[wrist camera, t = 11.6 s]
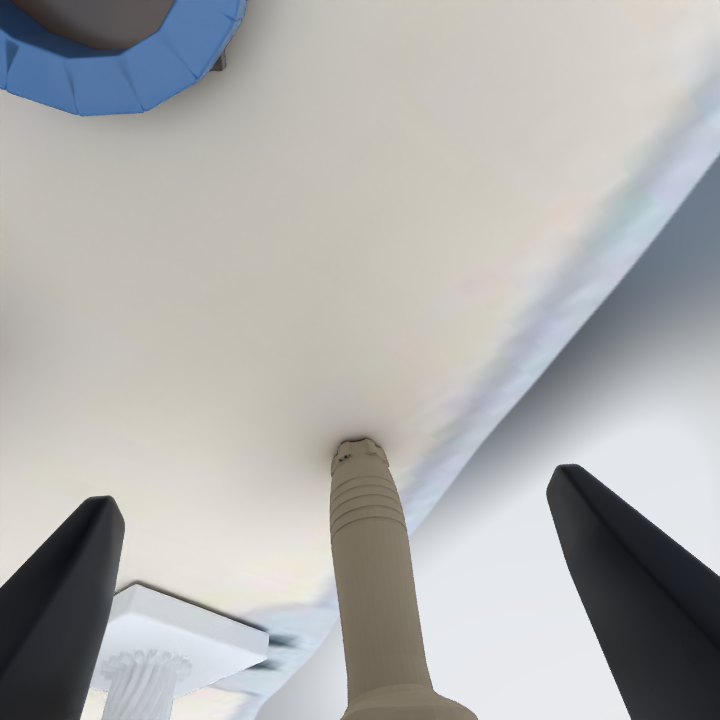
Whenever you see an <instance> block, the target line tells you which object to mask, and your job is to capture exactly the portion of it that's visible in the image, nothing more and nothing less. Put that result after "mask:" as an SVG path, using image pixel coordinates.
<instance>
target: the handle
mask: <svg viewBox="0 0 720 720" xmlns="http://www.w3.org/2000/svg"><path fill="white" fill-rule="evenodd" d="M388 467H389V463H388V460H387V457H386V454H385V452H384V450H383V449H382V448H379V447H377V446H375V444H374V442H373V441H372V440H369V439H364V440H362V441H357V442H349V441H347V442H345V443H343V444H342V445H340V446H339V449H338V455H337V456H336V457H334V458H333V460H332V466H331V477H332V482H331V493H330V533H331V545H332V547H331V549H332V557H333V564H334V572H335V579H336V587H337V594H338V602H339V610H340V618H341V626H342V635H343V643H344V652H345V661H346V670H347V686H348V687H347V688H348V707H347V709H346V711H345V713H344V715H343V717H342V718H341V719H340V720H478V718H477V716H476V715H475V714H474V713H473V712H472V711H470V710H469V709H468V708H466V707H464V706H463V705H461V704H459V703H457V702H456V701H453V700H450V699H448V698H445V697H443V696H441V695H438V694H437V693H436V692H435V691H434V690H433V686H432V683H431V679H430V675H429V672H428V668H427V664H426V658H425V651H424V645H423V638H422V632H421V625H420V619H419V612H418V606H417V599H416V592H415V584H414V577H413V570H412V562H411V555H410V547H409V540H408V535H407V528H406V524H405V519H404V514H403V510H402V506H401V502H400V499H399V495H398V492H397V489H396V486H395V483H394V480H393V478H392V475H391V473H390V471H389V469H388Z"/></svg>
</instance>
